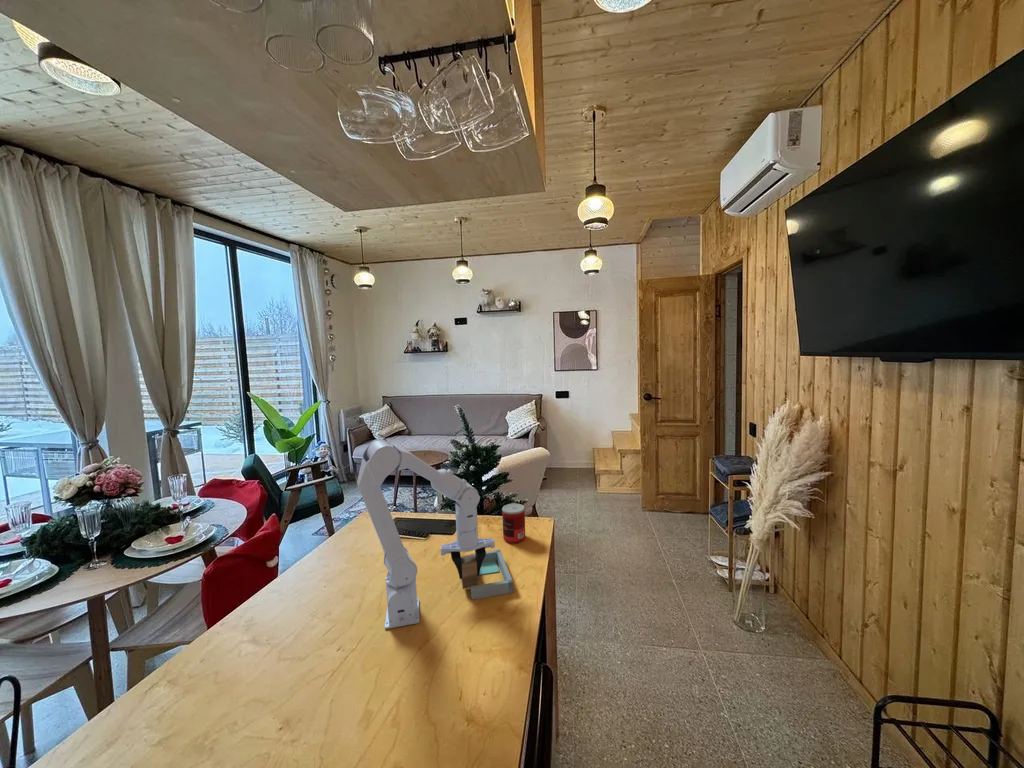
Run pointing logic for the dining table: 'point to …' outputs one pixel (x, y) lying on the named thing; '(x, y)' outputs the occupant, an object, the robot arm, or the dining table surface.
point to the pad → (489, 568)
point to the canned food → (513, 523)
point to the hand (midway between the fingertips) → (469, 575)
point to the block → (469, 571)
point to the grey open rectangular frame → (495, 587)
